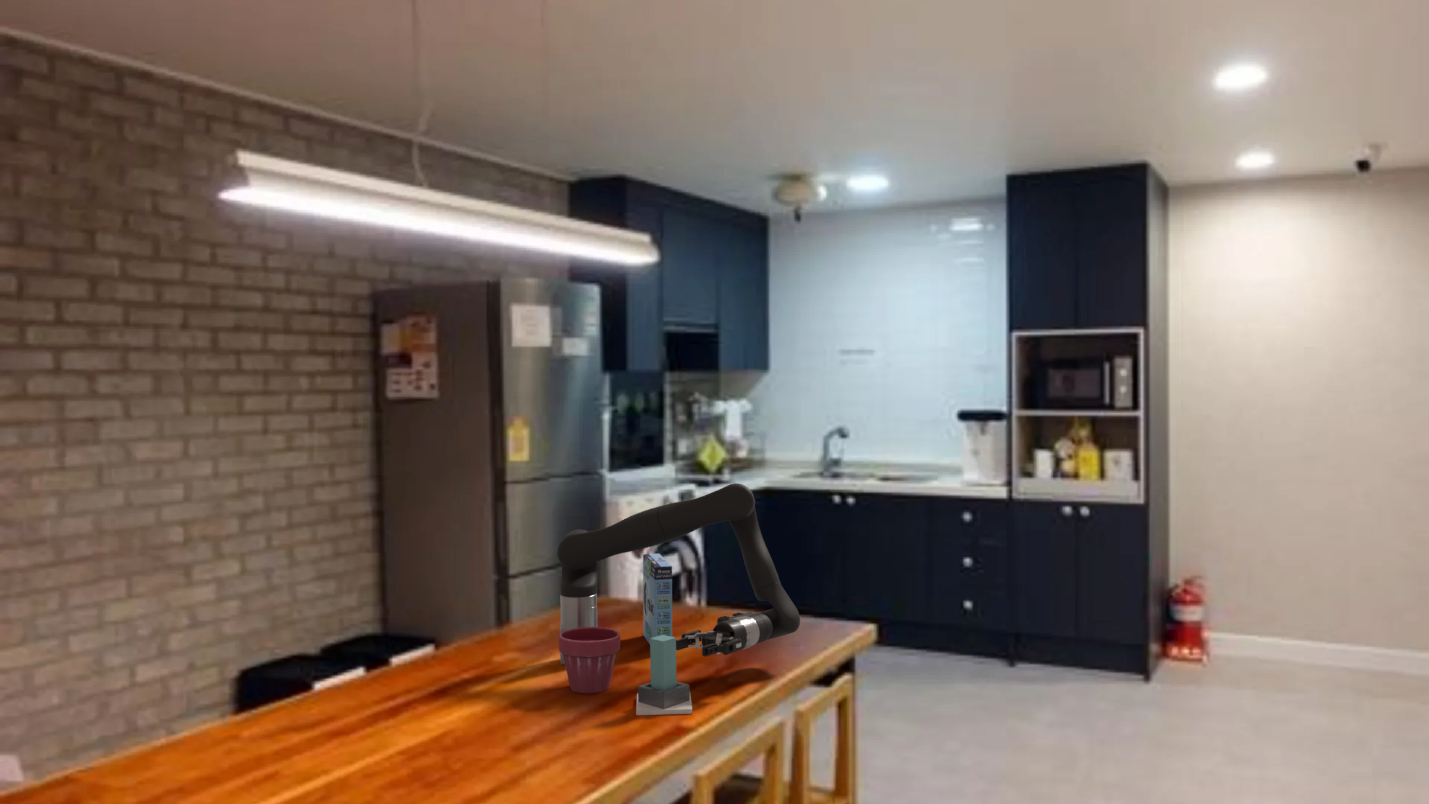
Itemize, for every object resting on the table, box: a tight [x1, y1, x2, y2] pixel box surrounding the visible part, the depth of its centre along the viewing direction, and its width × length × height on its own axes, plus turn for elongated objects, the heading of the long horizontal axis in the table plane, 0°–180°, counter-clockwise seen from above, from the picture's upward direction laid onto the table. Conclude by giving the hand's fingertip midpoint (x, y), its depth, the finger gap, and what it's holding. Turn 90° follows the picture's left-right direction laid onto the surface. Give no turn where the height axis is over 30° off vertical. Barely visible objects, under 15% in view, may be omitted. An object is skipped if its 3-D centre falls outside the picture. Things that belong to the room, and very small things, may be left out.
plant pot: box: [558, 626, 621, 694], centre depth 249 cm, size 14×14×13 cm
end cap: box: [716, 611, 755, 625], centre depth 292 cm, size 10×7×7 cm
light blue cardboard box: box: [642, 553, 673, 645], centre depth 288 cm, size 20×5×23 cm, turn 13°
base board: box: [635, 693, 693, 716], centre depth 235 cm, size 12×12×1 cm
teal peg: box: [649, 635, 677, 691], centre depth 235 cm, size 4×4×14 cm
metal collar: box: [637, 680, 691, 709], centre depth 235 cm, size 8×8×4 cm
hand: (689, 648), depth 241 cm, fingers open, 8 cm apart
